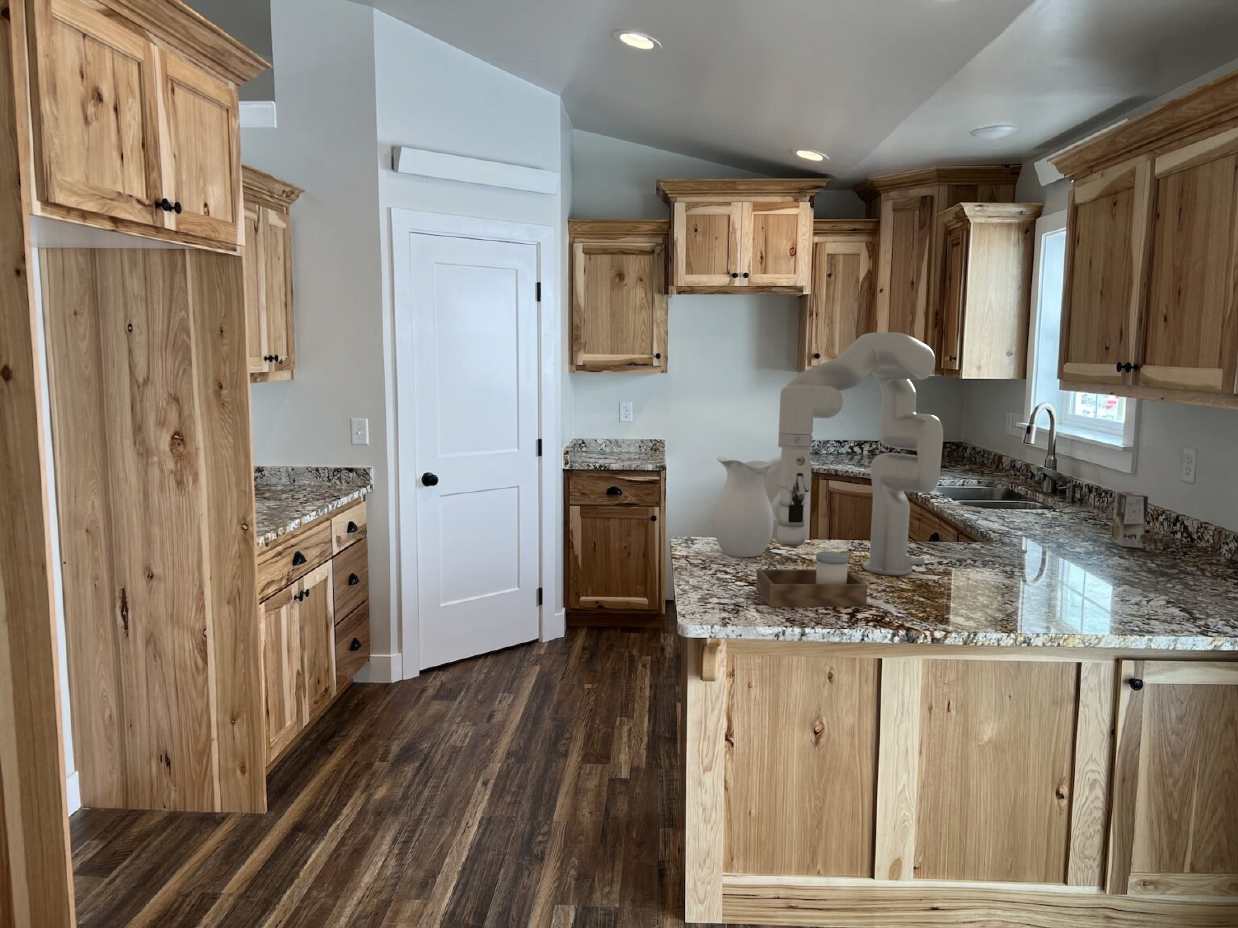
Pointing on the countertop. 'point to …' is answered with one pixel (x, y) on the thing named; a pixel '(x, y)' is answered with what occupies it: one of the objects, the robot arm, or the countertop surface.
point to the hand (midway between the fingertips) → (791, 518)
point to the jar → (831, 567)
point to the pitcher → (745, 509)
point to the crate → (808, 589)
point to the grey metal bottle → (788, 531)
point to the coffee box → (1129, 519)
